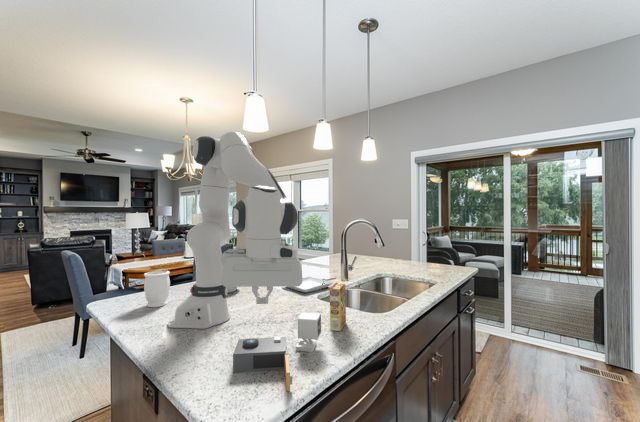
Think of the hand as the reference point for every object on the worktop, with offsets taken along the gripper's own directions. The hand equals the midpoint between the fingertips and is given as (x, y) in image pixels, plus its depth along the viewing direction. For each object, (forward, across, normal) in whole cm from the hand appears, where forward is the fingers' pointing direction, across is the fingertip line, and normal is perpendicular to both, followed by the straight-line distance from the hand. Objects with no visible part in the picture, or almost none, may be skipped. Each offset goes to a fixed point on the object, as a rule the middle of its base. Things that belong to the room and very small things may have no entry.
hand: (262, 303), depth 74 cm
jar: (+22, -55, +65) cm, 88 cm away
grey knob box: (+20, -1, +9) cm, 22 cm away
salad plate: (+20, +16, +88) cm, 91 cm away
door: (+19, +7, -1) cm, 21 cm away
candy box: (+19, +25, +32) cm, 45 cm away
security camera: (+20, +13, +16) cm, 29 cm away
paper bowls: (+21, -28, +86) cm, 93 cm away
